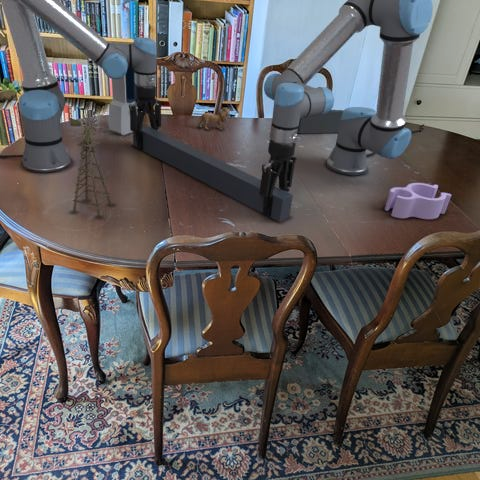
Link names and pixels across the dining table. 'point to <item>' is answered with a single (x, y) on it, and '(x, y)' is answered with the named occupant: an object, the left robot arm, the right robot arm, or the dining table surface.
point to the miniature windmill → (86, 142)
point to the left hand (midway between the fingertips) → (146, 146)
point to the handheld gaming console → (321, 123)
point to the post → (213, 172)
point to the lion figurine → (214, 118)
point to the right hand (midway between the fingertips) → (272, 211)
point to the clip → (417, 201)
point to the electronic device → (122, 103)
